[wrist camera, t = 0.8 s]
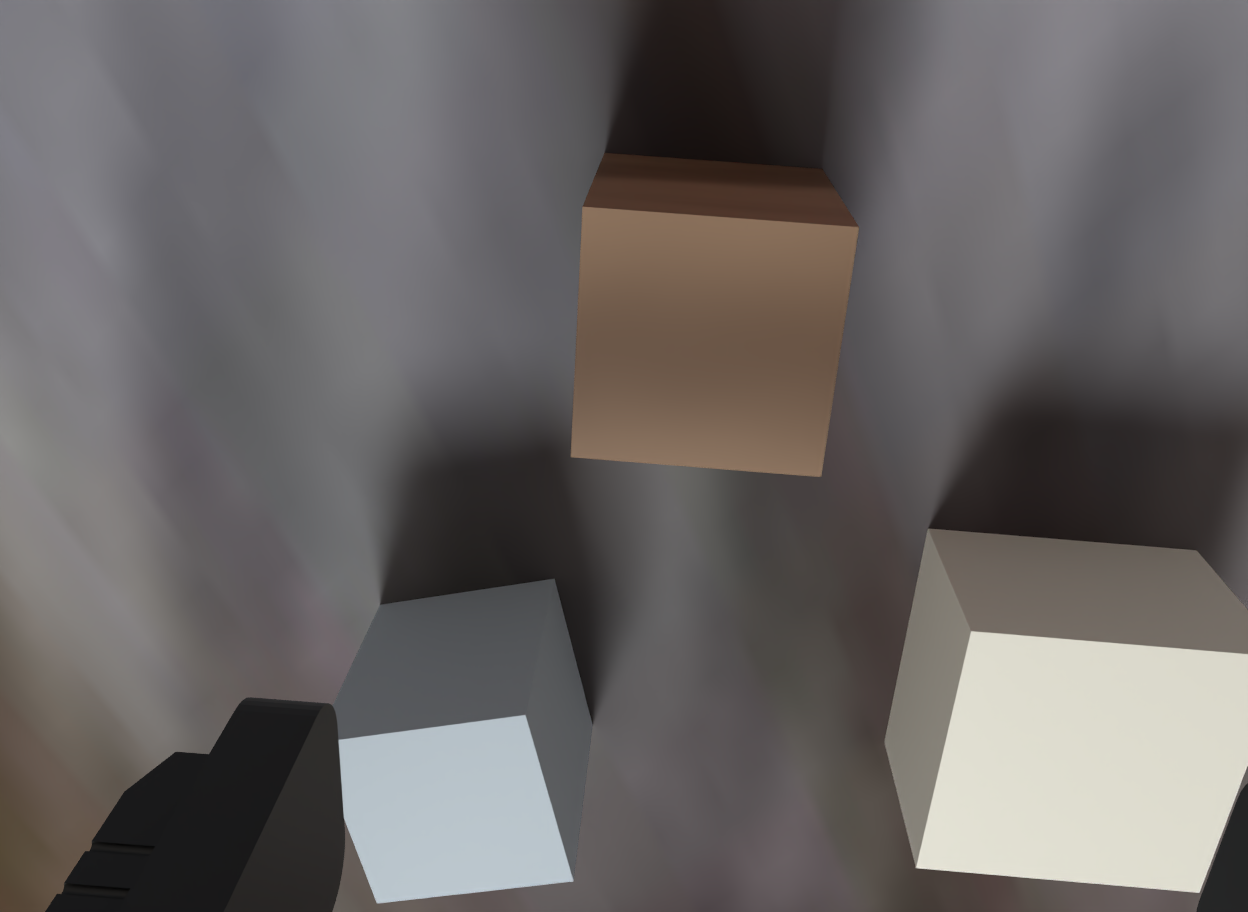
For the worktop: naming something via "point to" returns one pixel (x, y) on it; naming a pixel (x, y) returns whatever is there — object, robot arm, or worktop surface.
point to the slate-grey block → (465, 744)
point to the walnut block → (710, 314)
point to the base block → (1069, 710)
